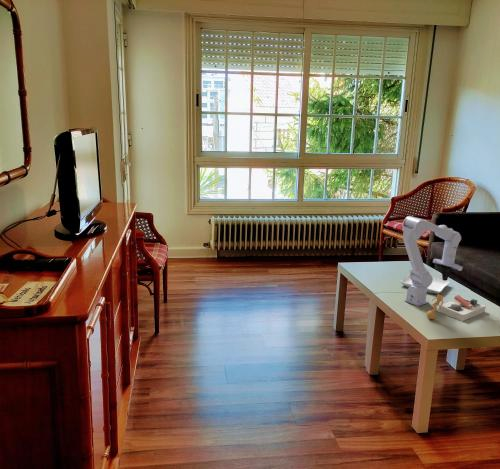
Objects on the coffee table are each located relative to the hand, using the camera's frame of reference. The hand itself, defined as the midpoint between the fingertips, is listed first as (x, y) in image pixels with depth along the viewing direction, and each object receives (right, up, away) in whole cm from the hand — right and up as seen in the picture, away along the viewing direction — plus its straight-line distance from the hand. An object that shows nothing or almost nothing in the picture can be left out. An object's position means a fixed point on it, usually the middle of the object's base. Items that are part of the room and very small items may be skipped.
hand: (444, 280), depth 227 cm
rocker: (+3, -9, -14) cm, 17 cm away
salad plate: (-3, -6, +19) cm, 20 cm away
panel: (+2, -14, -13) cm, 19 cm away
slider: (+9, -10, -12) cm, 18 cm away
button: (-2, -13, -17) cm, 21 cm away
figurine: (-15, -16, -23) cm, 31 cm away
